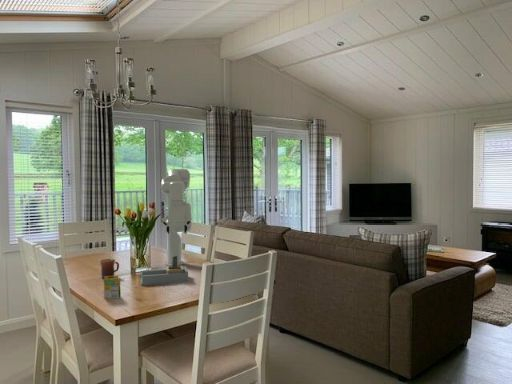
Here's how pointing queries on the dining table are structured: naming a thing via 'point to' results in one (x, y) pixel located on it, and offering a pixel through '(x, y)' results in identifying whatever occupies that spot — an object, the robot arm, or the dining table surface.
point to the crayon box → (111, 287)
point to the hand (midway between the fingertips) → (176, 232)
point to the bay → (163, 277)
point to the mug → (108, 267)
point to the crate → (174, 267)
